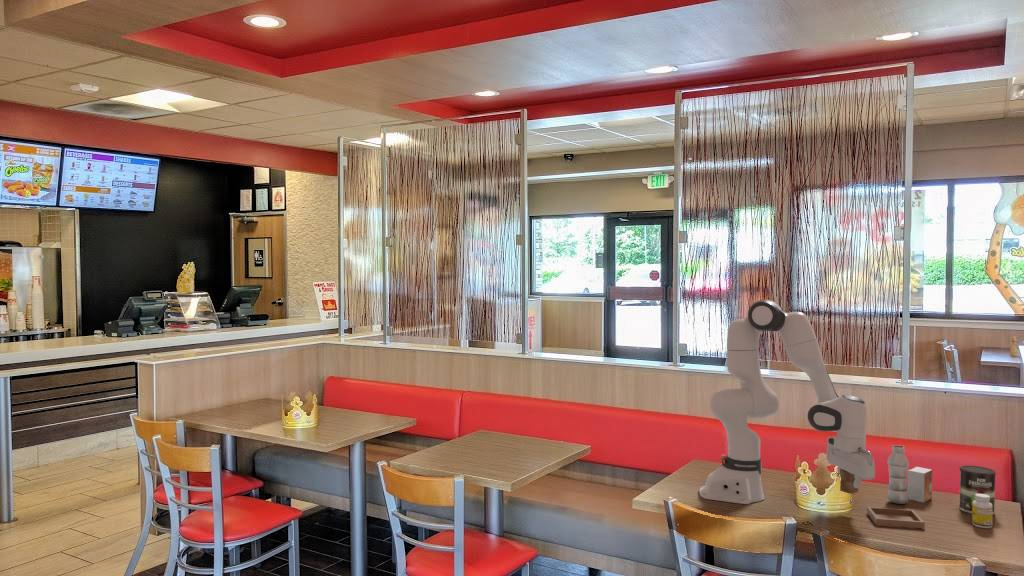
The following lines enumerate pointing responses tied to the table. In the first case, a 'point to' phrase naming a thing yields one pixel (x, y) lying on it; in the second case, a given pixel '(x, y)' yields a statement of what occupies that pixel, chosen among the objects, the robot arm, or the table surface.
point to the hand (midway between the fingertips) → (849, 484)
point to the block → (847, 482)
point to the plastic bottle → (898, 476)
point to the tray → (895, 517)
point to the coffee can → (975, 486)
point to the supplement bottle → (982, 511)
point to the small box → (920, 484)
